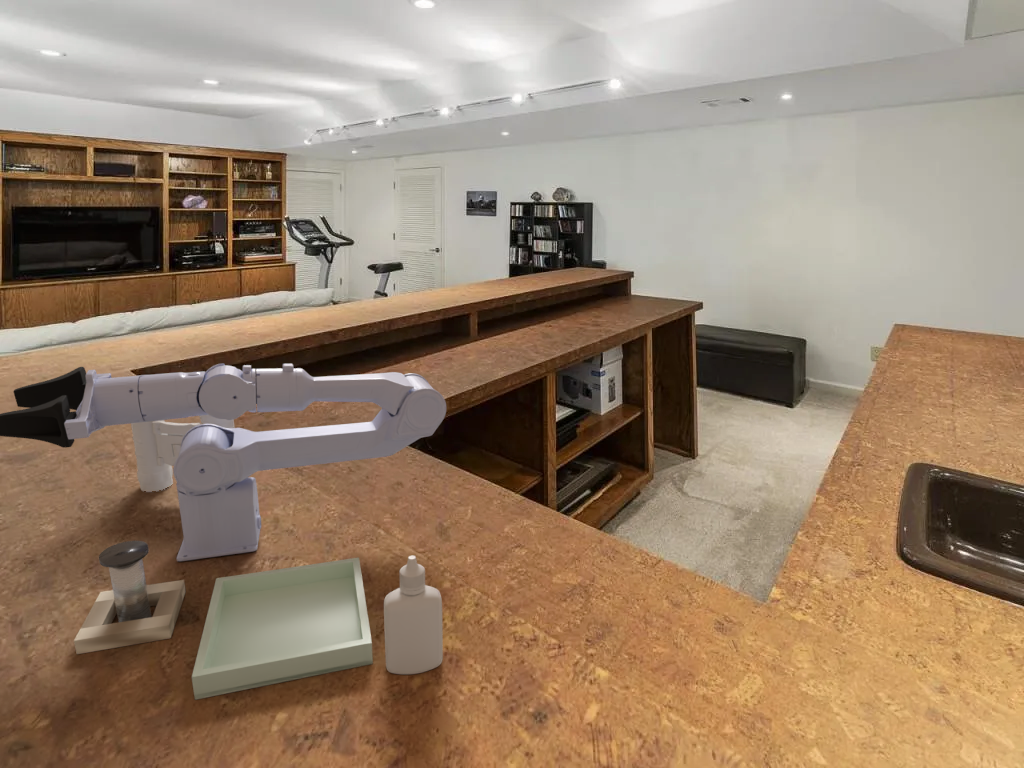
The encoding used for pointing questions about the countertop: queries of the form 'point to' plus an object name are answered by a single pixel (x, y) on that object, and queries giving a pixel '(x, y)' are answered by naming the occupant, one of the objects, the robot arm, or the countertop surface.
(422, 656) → the eye dropper bottle
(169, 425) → the binoculars
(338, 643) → the tray
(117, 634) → the pin collar
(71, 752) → the countertop surface
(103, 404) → the robot arm
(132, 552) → the pin
